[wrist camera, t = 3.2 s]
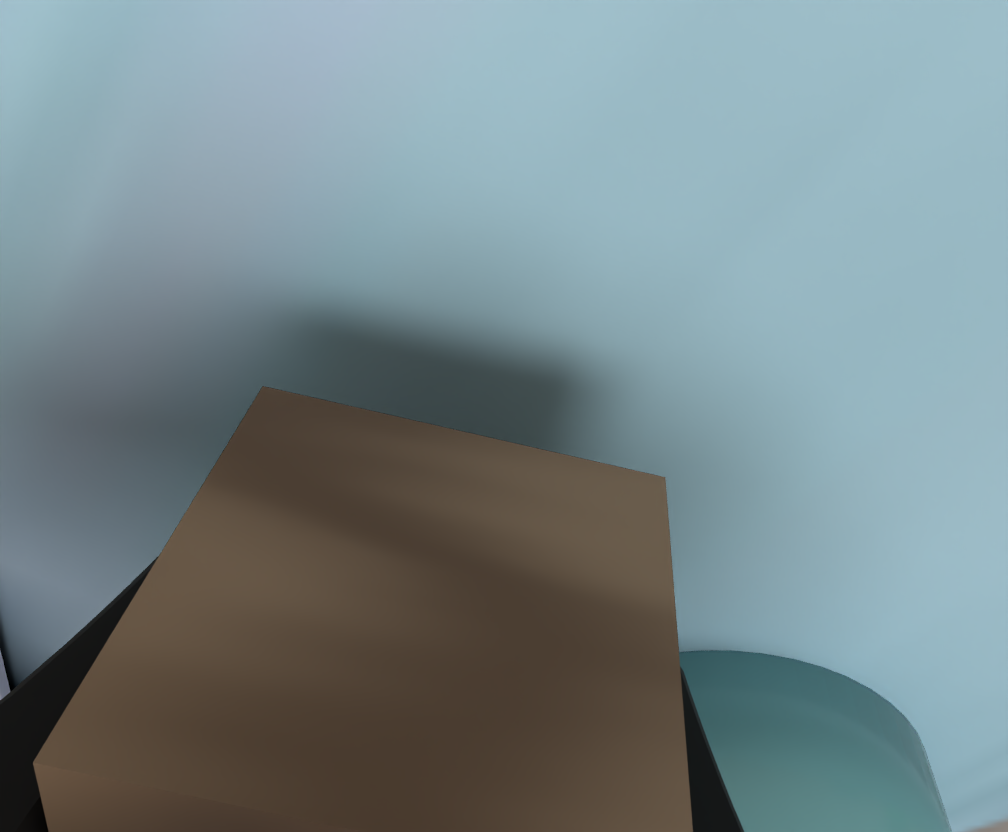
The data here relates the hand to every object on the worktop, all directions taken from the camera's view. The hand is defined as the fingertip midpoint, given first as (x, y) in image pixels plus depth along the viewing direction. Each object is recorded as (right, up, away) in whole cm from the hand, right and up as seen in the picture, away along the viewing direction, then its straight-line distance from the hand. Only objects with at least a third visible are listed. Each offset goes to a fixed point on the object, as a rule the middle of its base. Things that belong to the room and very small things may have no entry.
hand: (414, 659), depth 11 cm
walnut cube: (0, +1, +1) cm, 2 cm away
